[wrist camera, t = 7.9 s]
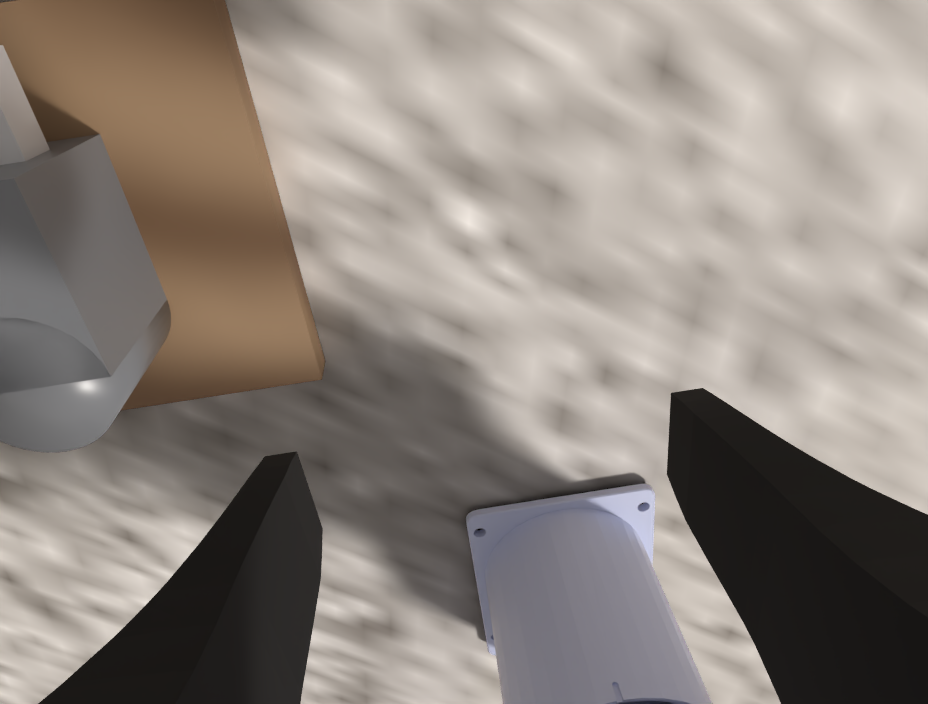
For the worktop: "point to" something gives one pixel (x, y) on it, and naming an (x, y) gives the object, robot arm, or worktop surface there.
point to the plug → (67, 285)
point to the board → (179, 180)
